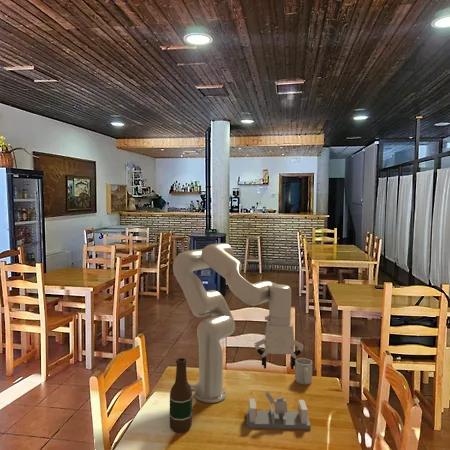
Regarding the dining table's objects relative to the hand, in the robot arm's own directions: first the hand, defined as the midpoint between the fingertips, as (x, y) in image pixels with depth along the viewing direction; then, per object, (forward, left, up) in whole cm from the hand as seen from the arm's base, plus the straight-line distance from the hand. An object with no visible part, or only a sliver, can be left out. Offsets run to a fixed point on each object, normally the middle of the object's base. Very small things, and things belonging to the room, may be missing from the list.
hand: (278, 367), depth 144 cm
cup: (+15, +32, -20) cm, 41 cm away
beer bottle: (-34, -5, -20) cm, 40 cm away
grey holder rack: (0, 0, -20) cm, 20 cm away
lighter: (0, 0, -17) cm, 17 cm away
